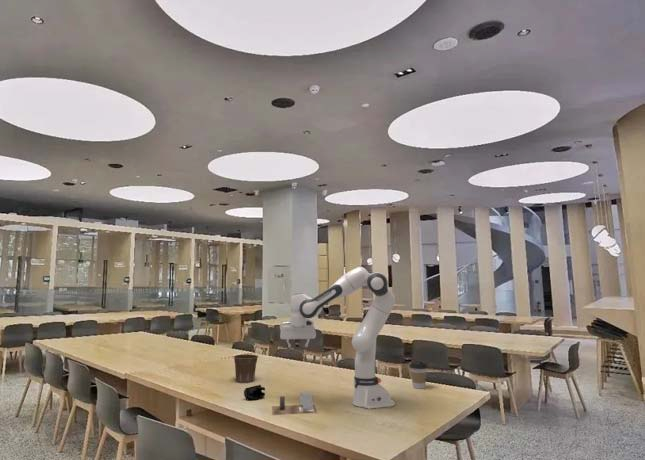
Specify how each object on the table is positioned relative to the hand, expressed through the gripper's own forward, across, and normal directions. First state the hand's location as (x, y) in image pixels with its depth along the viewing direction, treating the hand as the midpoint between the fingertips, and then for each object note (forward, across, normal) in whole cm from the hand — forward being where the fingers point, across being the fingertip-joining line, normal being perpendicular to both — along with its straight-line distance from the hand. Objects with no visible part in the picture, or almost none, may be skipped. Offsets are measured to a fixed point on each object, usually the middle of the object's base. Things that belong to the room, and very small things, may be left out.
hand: (298, 347), depth 226 cm
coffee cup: (+29, +77, +19) cm, 85 cm away
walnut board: (+29, -3, -20) cm, 35 cm away
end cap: (+29, -24, +8) cm, 39 cm away
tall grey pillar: (+27, +3, -21) cm, 35 cm away
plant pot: (+29, -32, +52) cm, 68 cm away
